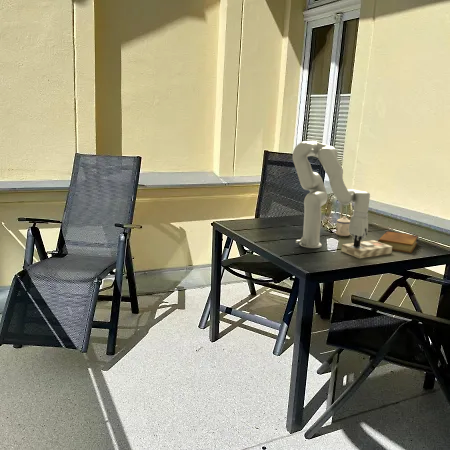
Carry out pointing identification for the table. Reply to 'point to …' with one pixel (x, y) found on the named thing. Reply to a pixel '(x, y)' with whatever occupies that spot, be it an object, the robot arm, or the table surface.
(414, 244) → the diary
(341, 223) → the teacup with lid
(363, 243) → the key offwhite
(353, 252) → the beige flat block
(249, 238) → the table surface
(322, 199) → the robot arm
